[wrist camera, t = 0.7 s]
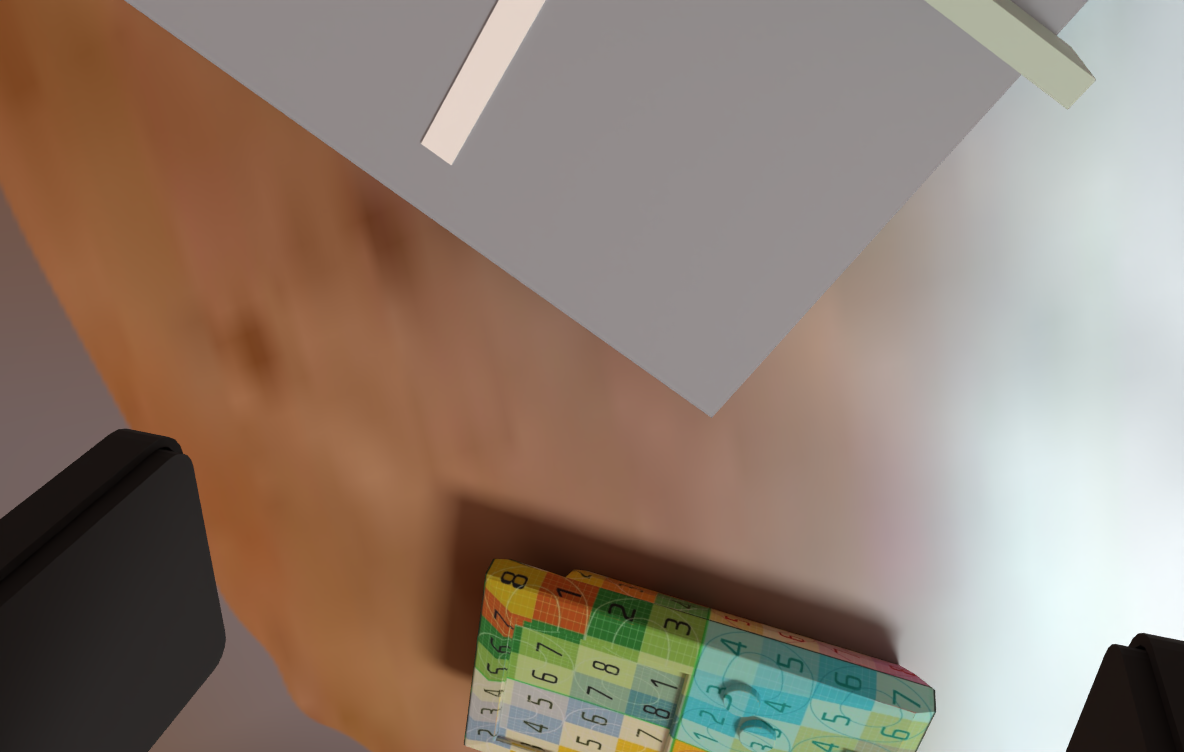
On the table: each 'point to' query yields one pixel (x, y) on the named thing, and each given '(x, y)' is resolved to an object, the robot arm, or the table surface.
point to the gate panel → (1022, 45)
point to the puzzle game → (669, 676)
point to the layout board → (632, 141)
